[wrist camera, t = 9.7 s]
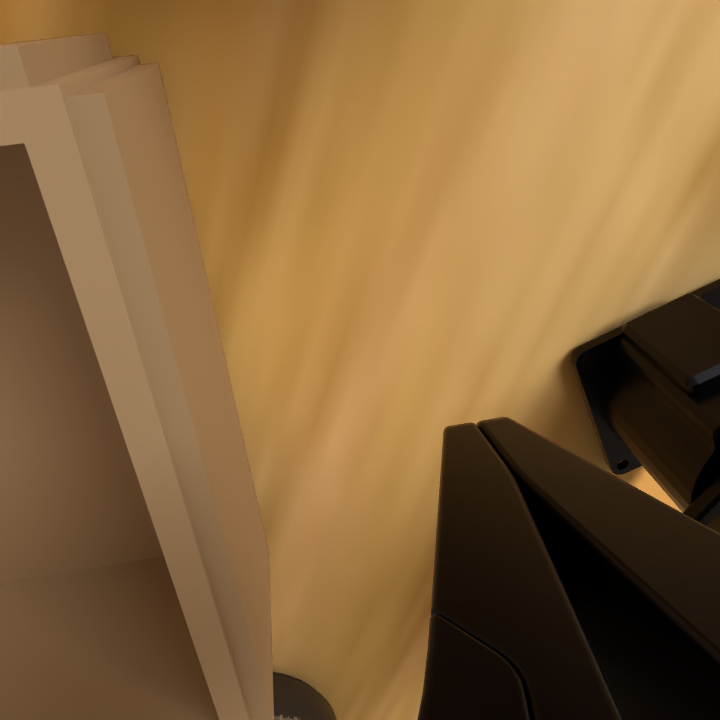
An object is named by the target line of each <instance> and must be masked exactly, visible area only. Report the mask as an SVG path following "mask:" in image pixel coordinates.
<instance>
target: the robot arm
mask: <svg viewBox="0 0 720 720" xmlns="http://www.w3.org/2000/svg"><path fill="white" fill-rule="evenodd" d="M589 355H591V356H590V358H589V360H587V361H586V362H582V361H583V359H584V358H585V357H586V356H589ZM571 362H572V365H573V368H574V371H575V374H576V377H577V380H578V382H579V385H580V388H581V391H582V394H583V397H584V400H585V403H586V406H587V409H588V411H589V414H590V417H591V420H592V423H593V426H594V429H595V432H596V435H597V437H598V440H599V443H600V446H601V449H602V452H603V455H604V458H605V461H606V464H607V465H608V467H609V468H610V469H611V470H612V472H613V473H615V474H624V473H627V472H629V471H631V470H633V469H636V468H638V467H640V466H643V467H644V468H645V469H646V470H647V472H648V473H649V474H650V475H651V476H652V477H653V479H654V480H655V481H656V482H657V483H658V484H659V485H660V487H661V488H662V489H663V490H664V491H665V492H666V494H667V495H668V496H669V497H670V498H671V499H672V501H673V502H674V503H675V504H676V505H677V506H678V508H679V509H680V510H681V511H682V512H683V513H681V512H679V511H678V510H676V509H674V508H672V507H670V506H668V505H667V504H664V503H663V502H661V501H659V500H657V499H656V498H654V497H652V496H650V495H648V494H647V493H645V492H643V491H641V490H639V489H637V488H636V487H634V486H632V485H630V484H628V483H627V482H625V481H623V480H621V479H619V478H617V477H616V476H614V475H612V474H610V473H608V472H607V471H605V470H603V469H601V468H599V467H597V466H596V465H594V464H592V463H590V462H588V461H587V460H585V459H583V458H581V457H579V456H577V455H576V454H574V453H572V452H570V451H568V450H566V449H565V448H563V447H561V446H559V445H557V444H556V443H554V442H552V441H550V440H548V439H546V438H545V437H543V436H541V435H539V434H537V433H536V432H534V431H532V430H530V429H528V428H526V427H525V426H523V425H521V424H519V423H517V422H516V421H514V420H512V419H510V418H507V417H500V418H495V419H489V420H483V421H479V422H478V423H477V424H474V423H465V424H459V425H453V426H448V427H446V428H445V429H444V433H443V447H442V461H441V475H440V490H439V504H438V518H437V532H436V546H435V560H434V575H433V589H432V603H431V618H430V625H429V640H428V652H427V661H426V669H425V678H424V687H423V695H422V700H421V705H420V710H419V715H418V720H720V279H719V280H717V281H715V282H713V283H711V284H709V285H707V286H705V287H702V288H700V289H698V290H696V291H694V292H692V293H690V294H686V295H684V296H682V297H680V298H678V299H676V300H674V301H672V302H670V303H668V304H665V305H663V306H661V307H659V308H657V309H655V310H653V311H651V312H649V313H647V314H645V315H642V316H640V317H638V318H636V319H634V320H632V321H630V322H628V323H627V324H625V325H623V326H621V327H619V328H617V329H615V330H612V331H610V332H608V333H606V334H604V335H602V336H600V337H598V338H596V339H594V340H591V341H589V342H587V343H585V344H583V345H581V346H579V347H578V348H576V349H575V351H574V352H573V354H572V357H571ZM621 460H623V461H622V462H620V461H621ZM618 462H620V463H618Z"/></svg>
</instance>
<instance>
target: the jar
mask: <svg viewBox="0 0 720 720" xmlns="http://www.w3.org/2000/svg"><path fill="white" fill-rule="evenodd" d="M273 702H274V720H337V719H336V716H335V714H334V712H333V709H332V707H331V706H330V704H329V703H328V701H327V700H326V699H325V698H324V697H323V696H322V695H321V694H320V693H318V692H317V691H316V690H315V689H314V688H312V687H311V686H310V685H308V684H307V683H305V682H303V681H301V680H299V679H297V678H294V677H291V676H288V675H285V674H280V673H275V672H273Z"/></svg>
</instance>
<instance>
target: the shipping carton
mask: <svg viewBox="0 0 720 720" xmlns="http://www.w3.org/2000/svg"><path fill="white" fill-rule="evenodd" d="M0 720H274V702H273V669H272V636H271V603H270V570H269V551H268V546H267V542H266V538H265V533H264V529H263V524H262V520H261V515H260V511H259V507H258V502H257V498H256V493H255V489H254V484H253V480H252V476H251V471H250V467H249V462H248V458H247V453H246V449H245V445H244V440H243V436H242V431H241V427H240V422H239V418H238V413H237V409H236V405H235V400H234V396H233V391H232V387H231V382H230V378H229V374H228V369H227V365H226V360H225V356H224V351H223V347H222V343H221V338H220V334H219V329H218V325H217V320H216V316H215V312H214V307H213V303H212V298H211V294H210V289H209V285H208V281H207V276H206V272H205V267H204V263H203V258H202V254H201V249H200V245H199V241H198V236H197V232H196V227H195V223H194V218H193V214H192V210H191V205H190V201H189V196H188V192H187V187H186V183H185V179H184V174H183V170H182V165H181V161H180V156H179V152H178V148H177V143H176V139H175V134H174V130H173V125H172V121H171V117H170V112H169V108H168V103H167V99H166V94H165V90H164V85H163V81H162V77H161V72H160V68H159V63H151V64H142V65H140V63H139V59H138V55H133V56H124V57H115V58H113V57H112V54H111V50H110V46H109V42H108V38H107V34H106V33H100V34H90V35H81V36H72V37H62V38H53V39H44V40H35V41H25V42H16V43H7V44H0Z"/></svg>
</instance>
